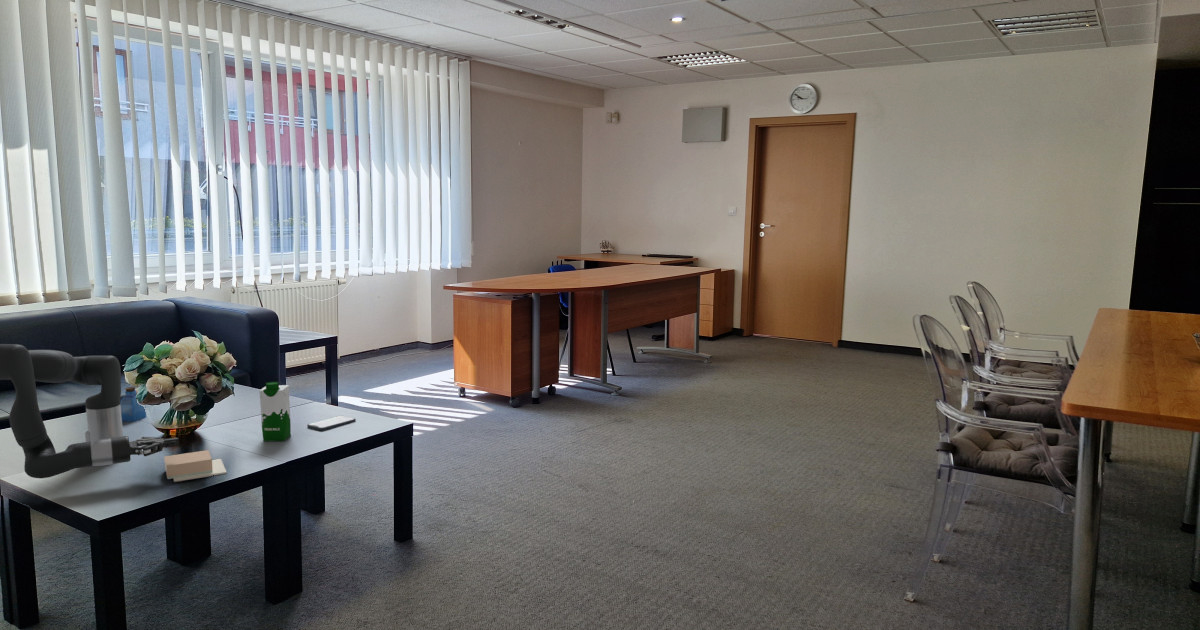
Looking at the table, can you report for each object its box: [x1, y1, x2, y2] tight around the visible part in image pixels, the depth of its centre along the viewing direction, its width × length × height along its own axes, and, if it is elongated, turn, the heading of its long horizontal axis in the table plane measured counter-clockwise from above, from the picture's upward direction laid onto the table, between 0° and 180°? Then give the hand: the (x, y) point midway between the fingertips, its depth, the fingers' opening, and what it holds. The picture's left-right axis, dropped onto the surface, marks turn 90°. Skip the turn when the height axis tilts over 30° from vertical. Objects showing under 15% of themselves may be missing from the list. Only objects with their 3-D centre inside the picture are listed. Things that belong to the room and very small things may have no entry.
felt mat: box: [172, 458, 228, 483], centre depth 238 cm, size 14×14×1 cm
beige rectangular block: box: [163, 449, 213, 480], centre depth 236 cm, size 4×10×12 cm
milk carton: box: [259, 381, 292, 442], centre depth 269 cm, size 9×9×20 cm
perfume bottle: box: [120, 386, 147, 423], centre depth 292 cm, size 6×6×12 cm
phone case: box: [306, 415, 356, 432], centre depth 287 cm, size 9×2×16 cm
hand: (178, 441), depth 234 cm, fingers closed
